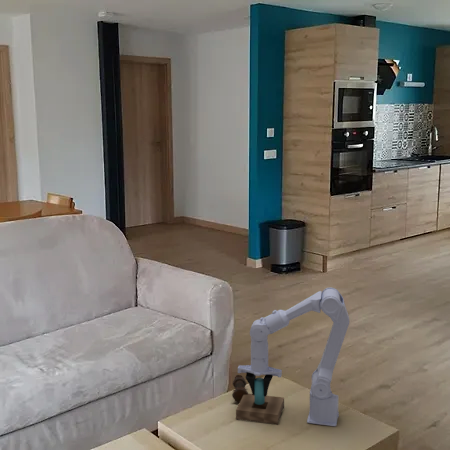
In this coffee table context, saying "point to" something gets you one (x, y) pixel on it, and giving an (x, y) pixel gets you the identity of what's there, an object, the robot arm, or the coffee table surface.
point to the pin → (259, 391)
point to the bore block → (260, 409)
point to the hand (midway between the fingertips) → (259, 394)
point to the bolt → (239, 388)
